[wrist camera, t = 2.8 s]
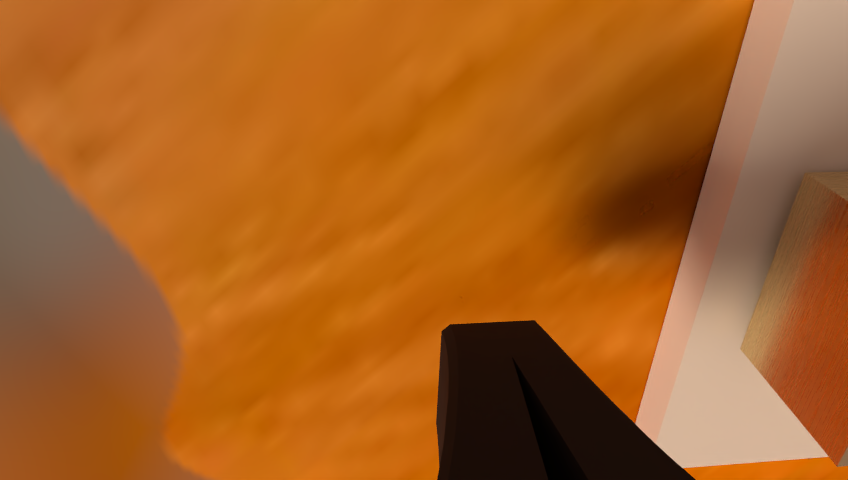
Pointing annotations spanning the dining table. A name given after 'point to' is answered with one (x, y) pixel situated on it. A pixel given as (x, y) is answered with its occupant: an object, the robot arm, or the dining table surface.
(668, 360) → the door panel
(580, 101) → the dining table surface
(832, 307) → the block
